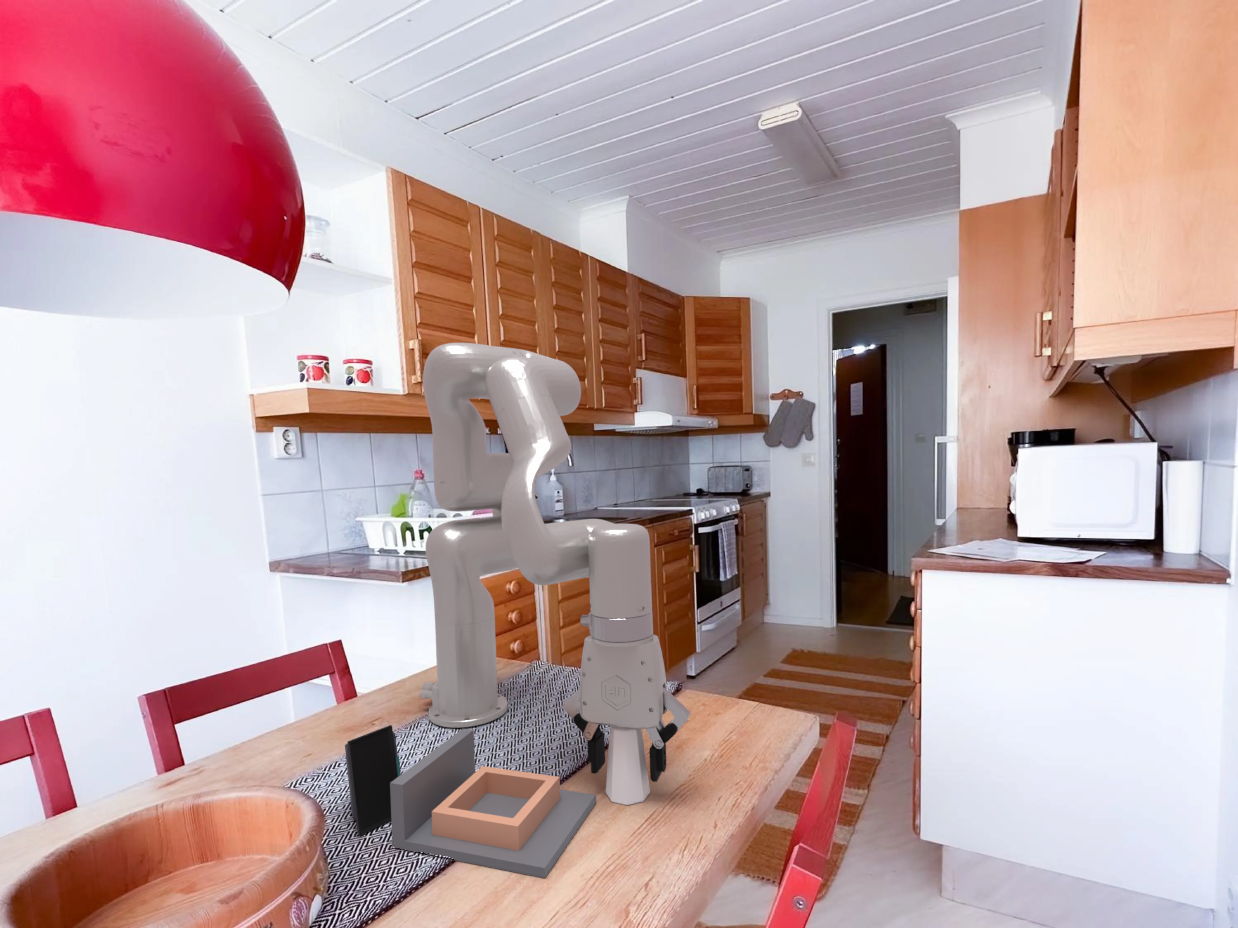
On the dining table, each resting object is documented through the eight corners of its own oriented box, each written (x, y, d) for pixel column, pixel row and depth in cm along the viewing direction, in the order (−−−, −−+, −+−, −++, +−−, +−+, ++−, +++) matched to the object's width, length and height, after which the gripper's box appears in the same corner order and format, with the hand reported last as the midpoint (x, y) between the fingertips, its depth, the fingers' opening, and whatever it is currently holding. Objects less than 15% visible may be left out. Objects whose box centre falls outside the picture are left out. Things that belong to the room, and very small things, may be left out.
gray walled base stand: (392, 847, 68) (389, 782, 68) (464, 782, 81) (462, 728, 81) (545, 878, 62) (542, 806, 62) (596, 802, 75) (593, 744, 75)
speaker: (411, 818, 73) (401, 727, 73) (358, 838, 70) (348, 742, 70) (399, 796, 79) (389, 712, 80) (349, 812, 76) (340, 726, 77)
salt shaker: (606, 782, 80) (603, 695, 80) (649, 781, 80) (646, 694, 80) (604, 806, 74) (601, 712, 74) (650, 805, 74) (647, 711, 74)
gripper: (543, 630, 76) (549, 778, 76) (685, 639, 71) (690, 798, 71) (568, 615, 83) (573, 750, 83) (698, 621, 78) (703, 766, 78)
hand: (627, 770), depth 77 cm, fingers open, 6 cm apart
